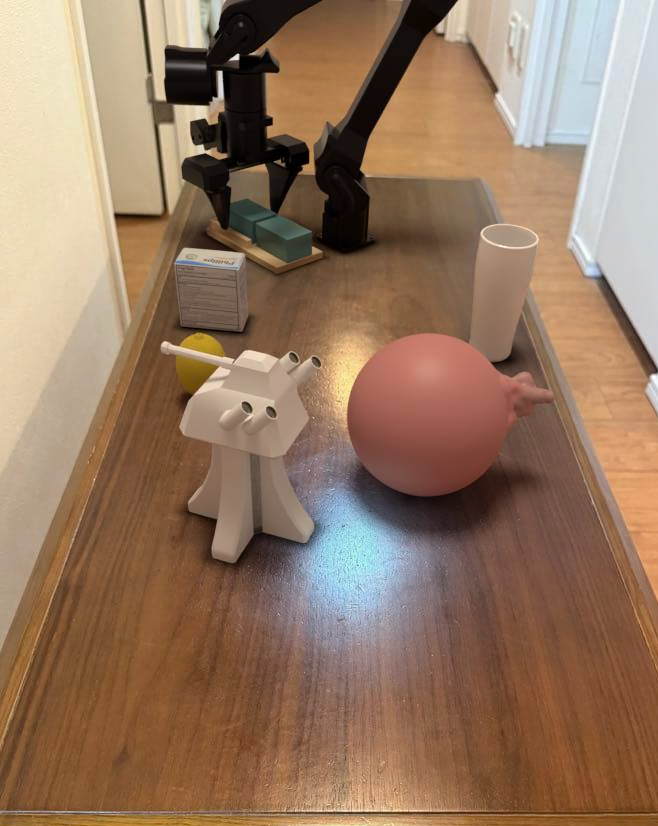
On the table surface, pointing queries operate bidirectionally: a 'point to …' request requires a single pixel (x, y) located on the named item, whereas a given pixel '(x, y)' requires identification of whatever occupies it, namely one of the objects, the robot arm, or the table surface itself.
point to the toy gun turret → (248, 446)
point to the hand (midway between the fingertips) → (249, 221)
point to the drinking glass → (500, 287)
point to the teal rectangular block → (248, 217)
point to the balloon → (434, 413)
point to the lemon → (197, 362)
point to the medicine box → (212, 289)
